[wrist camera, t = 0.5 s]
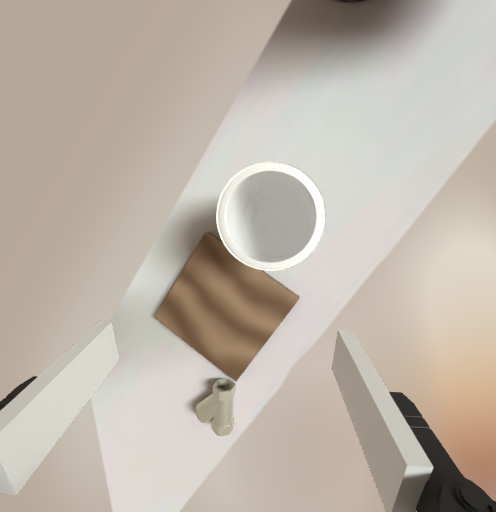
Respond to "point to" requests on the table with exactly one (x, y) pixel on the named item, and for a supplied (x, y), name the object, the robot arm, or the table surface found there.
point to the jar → (271, 216)
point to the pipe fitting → (218, 407)
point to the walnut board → (224, 307)
